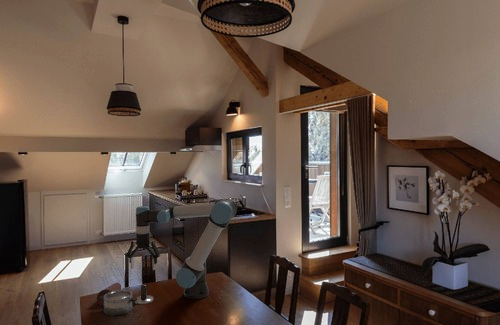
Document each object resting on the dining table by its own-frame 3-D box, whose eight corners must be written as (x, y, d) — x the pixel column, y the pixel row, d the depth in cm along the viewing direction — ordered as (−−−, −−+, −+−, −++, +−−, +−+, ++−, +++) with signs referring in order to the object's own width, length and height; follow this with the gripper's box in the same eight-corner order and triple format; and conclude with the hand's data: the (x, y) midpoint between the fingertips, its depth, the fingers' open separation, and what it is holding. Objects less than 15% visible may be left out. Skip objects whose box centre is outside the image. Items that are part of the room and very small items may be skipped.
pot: (142, 305, 196) (142, 291, 195) (129, 316, 181) (129, 301, 181) (108, 303, 199) (108, 288, 199) (92, 314, 184) (92, 298, 184)
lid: (156, 297, 207) (156, 282, 207) (148, 305, 196) (148, 289, 196) (139, 296, 209) (139, 281, 209) (130, 303, 198) (130, 288, 198)
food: (113, 305, 196) (113, 289, 196) (96, 306, 195) (96, 290, 195) (122, 291, 217) (122, 277, 217) (107, 292, 216) (106, 277, 216)
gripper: (165, 231, 204) (166, 267, 204) (126, 231, 208) (126, 266, 208) (160, 234, 197) (160, 271, 197) (119, 233, 201) (120, 270, 201)
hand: (143, 269), depth 202 cm, fingers open, 13 cm apart
